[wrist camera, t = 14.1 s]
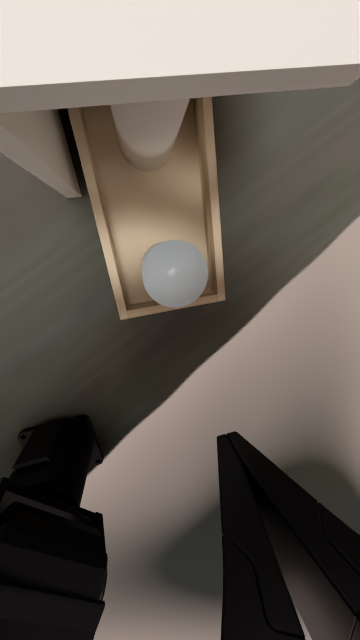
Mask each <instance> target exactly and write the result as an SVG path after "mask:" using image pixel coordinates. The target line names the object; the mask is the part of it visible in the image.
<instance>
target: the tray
mask: <svg viewBox="0 0 360 640" xmlns="http://www.w3.org/2000/svg"><path fill="white" fill-rule="evenodd" d="M67 109H68V113H69V117H70V121H71V125H72V129H73V133H74V137H75V141H76V145H77V149H78V153H79V157H80V161H81V165H82V169H83V173H84V177H85V181H86V185H87V189H88V193H89V197H90V201H91V204H92V208H93V212H94V216H95V220H96V224H97V228H98V232H99V236H100V240H101V244H102V248H103V252H104V256H105V260H106V264H107V268H108V272H109V276H110V280H111V284H112V288H113V292H114V296H115V300H116V304H117V308H118V312H119V316H120V320H123V319H128V318H134V317H139V316H144V315H149V314H155V313H160V312H165V311H171V310H176V309H181V308H186V307H192V306H197V305H202V304H208V303H213V302H218V301H224V300H225V286H224V271H223V256H222V241H221V227H220V212H219V197H218V182H217V167H216V153H215V138H214V123H213V108H212V97H201V98H190V100H189V103H188V106H187V109H186V111H185V114H184V117H183V120H182V123H181V126H180V129H179V132H178V135H177V137H176V140H175V143H174V146H173V149H172V152H171V155H170V157H169V159H168V161H167V162H166V163H165V165H164V166H162V167H161V168H160V169H158V170H155V171H151V172H145V171H141V170H138V169H136V168H134V167H133V166H132V165H130V164H129V163H128V162H127V160H126V159H125V158H124V156H123V155H122V153H121V151H120V148H119V145H118V140H117V135H116V130H115V125H114V120H113V115H112V110H111V105H100V106H87V107H75V108H67ZM170 240H181V241H185V242H188V243H190V244H192V245H194V246H195V247H196V248H197V249H198V250H199V251H200V252H201V253H202V255H203V256H204V258H205V260H206V263H207V267H208V279H207V284H206V286H205V289H204V291H203V292H202V294H201V295H200V296H199V297H198V298H197V299H196V300H195V301H194V302H192V303H190V304H189V305H186V306H183V307H177V308H172V307H166V306H163V305H161V304H159V303H157V302H156V301H155V300H153V299H152V298H151V297H150V295H149V294H148V293H147V291H146V289H145V287H144V284H143V278H142V270H141V261H142V257H143V255H144V253H145V252H146V250H147V249H148V248H149V247H151V246H152V245H154V244H156V243H160V242H165V241H170Z"/></svg>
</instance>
